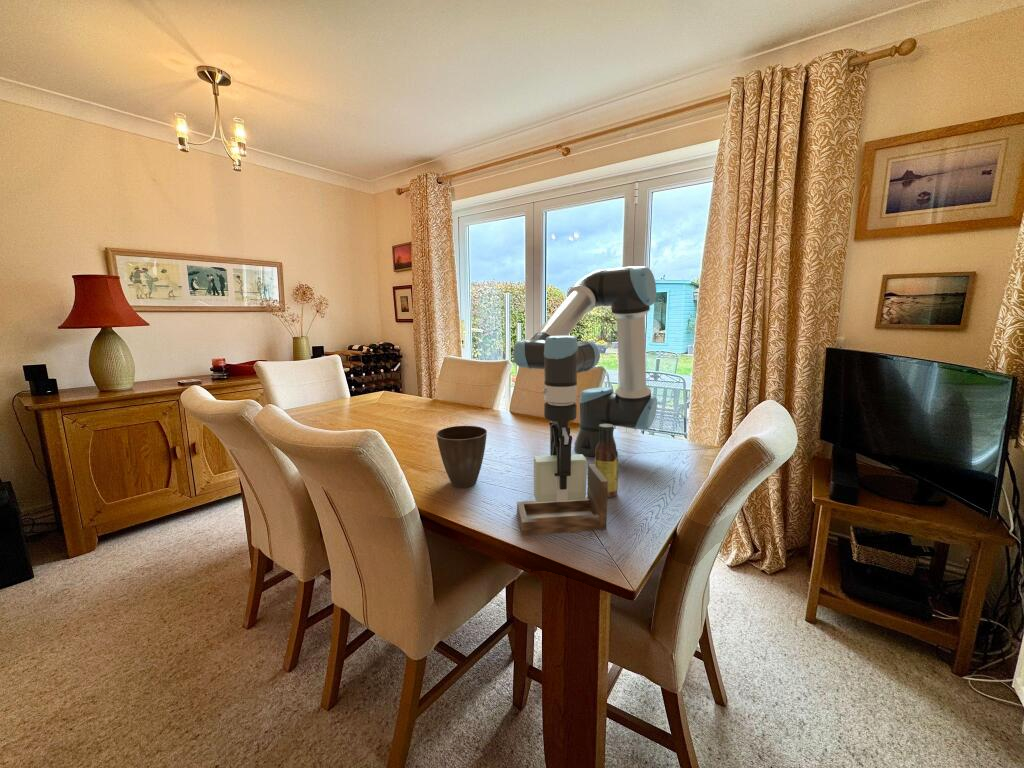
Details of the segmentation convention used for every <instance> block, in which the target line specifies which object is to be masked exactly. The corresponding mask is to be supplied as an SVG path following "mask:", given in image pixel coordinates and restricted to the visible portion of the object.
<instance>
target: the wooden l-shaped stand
mask: <svg viewBox="0 0 1024 768" xmlns="http://www.w3.org/2000/svg"><path fill="white" fill-rule="evenodd" d="M607 490H608V481H607V480H606V479H605V477H604V476H603V475H602V474H601V472H600V471H599V470H598V469H597V468H596V466H595V463H588V464H587V487H586V499H585V500H568V501H549V502H536V500H526V501H525V500H522V501H517V502H516V513H517V517H518V519H517V520H518V522H519V526H520V530H521V531H520V532H521V534H522V536H528V535H529V536H530V535H541V534H555V533H556V534H557V533H572V532H584V531H585V532H589V531H600V530H601V531H602V530H607V525H608V524H607V523H608V520H607V518H608V498H607Z"/></svg>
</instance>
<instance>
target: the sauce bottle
mask: <svg viewBox="0 0 1024 768" xmlns="http://www.w3.org/2000/svg"><path fill="white" fill-rule="evenodd" d="M614 431H615V426H613V425H612V424H600V425H599V436H600V437H599V443H598V445H597V446H596V449H595V457H594V465H595V466H596V468H597V469H598V470H599V471H600V472H601V474H602V475H603V476H604V477H605V479H606V480H607V481H608V490H607V499H610V498H614V497H616V496H617V494H618V488H619V487H618V486H619V484H618V483H619V481H618V479H619V478H618V477H619V463H618V462H619V455H618V450H617V446H616V447H615V444H614V441H613V436H614Z"/></svg>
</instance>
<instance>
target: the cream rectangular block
mask: <svg viewBox="0 0 1024 768" xmlns="http://www.w3.org/2000/svg"><path fill="white" fill-rule="evenodd" d="M587 462H588V461H587V458H586V457H585V455H582V454H579V453H577V454H571V476H568V500H585V499H586V498H587V469H588V464H587ZM554 473H557V455H551V456H550V455H535V456H533V496H534V498H535V501H536V502H549V501H556V476H555V475H554Z"/></svg>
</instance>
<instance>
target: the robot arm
mask: <svg viewBox="0 0 1024 768" xmlns="http://www.w3.org/2000/svg"><path fill="white" fill-rule="evenodd" d="M656 295H657V284H656V280H655V276H654V274H653V271H652V270H651V269H650V268H649V267H647V266H636V265H635V266H633V265H632V266H624V267H615V268H601V269H596V270H594V271H592V272H590V273H588V274H586V275H585V276H582V277H581V278H580V279H579V280H578V281H576V282H575V283H574V284H573V285H572V286H571V288H570V289H569V290H568V292H567V294H566V298H565V299H564V300H563V302H562V303H561V304H560V305H559V306H558V307H557V308H556V310H555V311H554V312H553V313H552V314H551V315H550V317H549V318H548V319H547V320H546V321H545V322H544V324H542V325H541V326H540V328H539V329H538V330H537V331H536V333H534V335H533V336H532V337H531V338H530V339H523V340H517V342H516V343H515V344H514V347H513V349H512V357H513V360H514V363H515V364H516V366H518V367H520V368H527V369H529V370H530V369H531V370H532V369H533V370H534V369H535V370H544V388H542V389H541V393H544V401H545V403H544V405H543V407H544V408H543V409H544V410H543V415H544V418H545V420H548V421H549V424H548V425H549V432H550V433H549V438H550V443H549V444H550V446H549V449H550V450H549V451H550V452H549V453H550V454H549V456H551V455H557V473H554V475H555V476H556V501H568V476H571V455H572V444H573V435H570V434H571V428H570V427H569V422H571V421H574V420H576V418H577V410H578V409H577V407H578V406H577V403H576V401H577V400H578V373H582V372H587V371H590V370H592V369H594V368H595V367H596V366H597V365H598V363H599V361H600V357H601V355H600V350H599V347H598V346H597V345H596V344H595V343H594V342H593V341H590V340H579V341H578V339H577V337H576V336H574V335H570V334H571V332H572V331H573V330H574V328H575V327H576V326H577V325H578V324H579V322H580V321H581V320H582V318H583V317H584V316H585V315H586V314H587V313H590V312H592V311H593V310H594V309H595V308H596V307H598V308H599V307H611V314H612V315H613V316H614V317H616V330H617V331H616V333H617V334H616V335H617V353H618V356H617V357H618V358H617V359H618V376H619V377H618V380H619V381H618V382H619V386H618V387H617V388H616V389H615V391H614V388H612V387H609V386H604V387H603V386H602V387H601V386H600V387H592V388H587V389H584V390H582V391H581V392H580V395H579V396H580V397H579V402H578V403H579V430H578V432H577V435H576V438H575V442H574V451H575V452H576V453H577V454H582V455H583V456H587V457H593V458H595V449H596V446H597V445H598V443H599V437H600V436H599V425H600V424H612V425H613V426H614V427H618V428H626V429H632V430H635V431H637V430H639V431H640V430H641V431H646V430H648V429H650V428H651V426H652V425H653V423H654V421H655V417H656V414H657V408H658V399H657V397H655V396H654V395H652V391H651V390H652V389H651V388H650V387H648V386H647V368H646V367H647V365H646V364H647V363H646V361H647V360H646V319H645V318H646V314H648V312H650V309H651V307H650V306H652V305H654V304H655V303H656V298H657V297H656ZM613 441H614V444H615V447H616V448H617V444H616V441H615V437H614V435H613Z"/></svg>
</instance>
